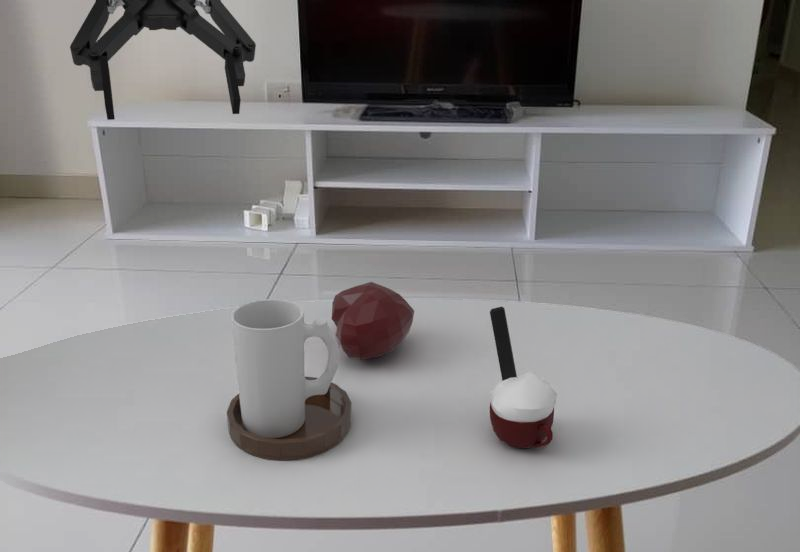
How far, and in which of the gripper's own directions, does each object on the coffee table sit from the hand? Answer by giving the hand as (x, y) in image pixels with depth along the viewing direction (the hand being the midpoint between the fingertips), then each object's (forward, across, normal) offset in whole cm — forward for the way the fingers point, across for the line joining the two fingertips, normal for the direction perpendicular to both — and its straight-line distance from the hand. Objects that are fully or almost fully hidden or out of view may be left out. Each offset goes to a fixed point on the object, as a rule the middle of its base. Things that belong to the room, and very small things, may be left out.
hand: (174, 110), depth 83 cm
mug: (+36, +7, +3) cm, 37 cm away
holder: (+36, +7, +3) cm, 37 cm away
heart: (+27, +20, +12) cm, 36 cm away
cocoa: (+43, +28, -3) cm, 51 cm away
